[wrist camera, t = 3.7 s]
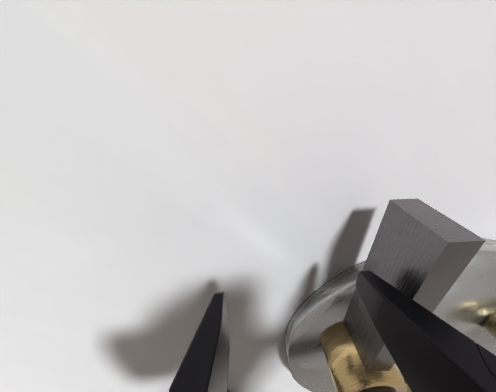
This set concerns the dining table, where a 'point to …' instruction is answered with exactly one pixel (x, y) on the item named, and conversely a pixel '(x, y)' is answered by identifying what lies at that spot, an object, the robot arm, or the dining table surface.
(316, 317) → the levelling base
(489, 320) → the knob right
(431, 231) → the knob left
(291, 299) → the dining table surface
